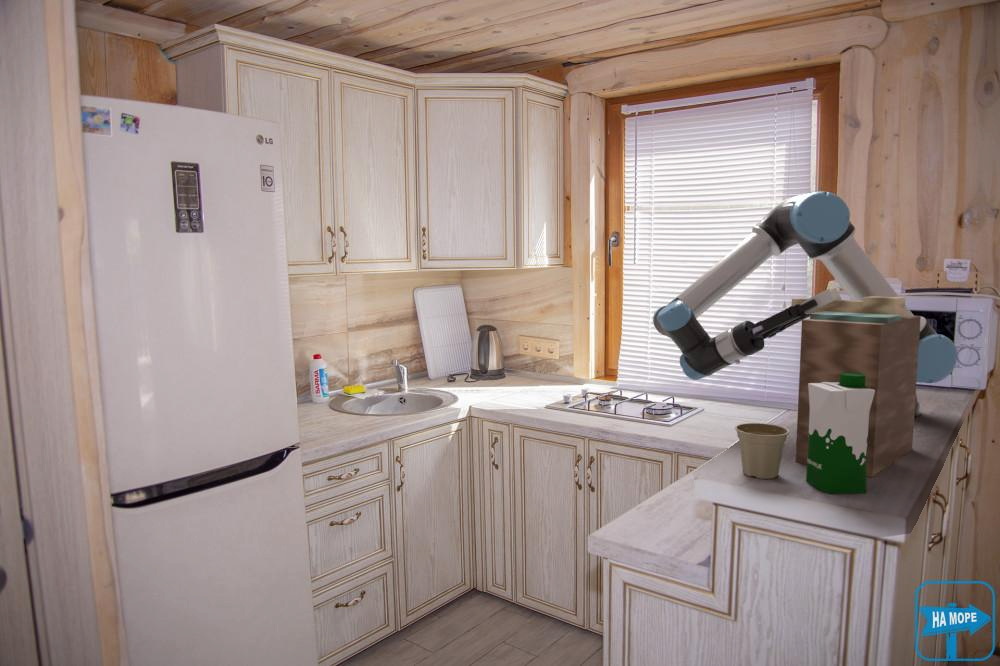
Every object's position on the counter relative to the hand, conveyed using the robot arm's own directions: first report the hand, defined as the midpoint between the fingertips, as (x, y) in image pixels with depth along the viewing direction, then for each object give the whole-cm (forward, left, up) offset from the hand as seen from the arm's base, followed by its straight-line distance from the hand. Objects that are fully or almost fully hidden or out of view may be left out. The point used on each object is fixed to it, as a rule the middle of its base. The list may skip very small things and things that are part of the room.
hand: (834, 294), depth 149 cm
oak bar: (-1, +2, -4) cm, 5 cm away
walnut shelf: (+1, +9, -32) cm, 33 cm away
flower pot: (+27, +14, -33) cm, 45 cm away
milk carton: (+19, +24, -32) cm, 45 cm away
